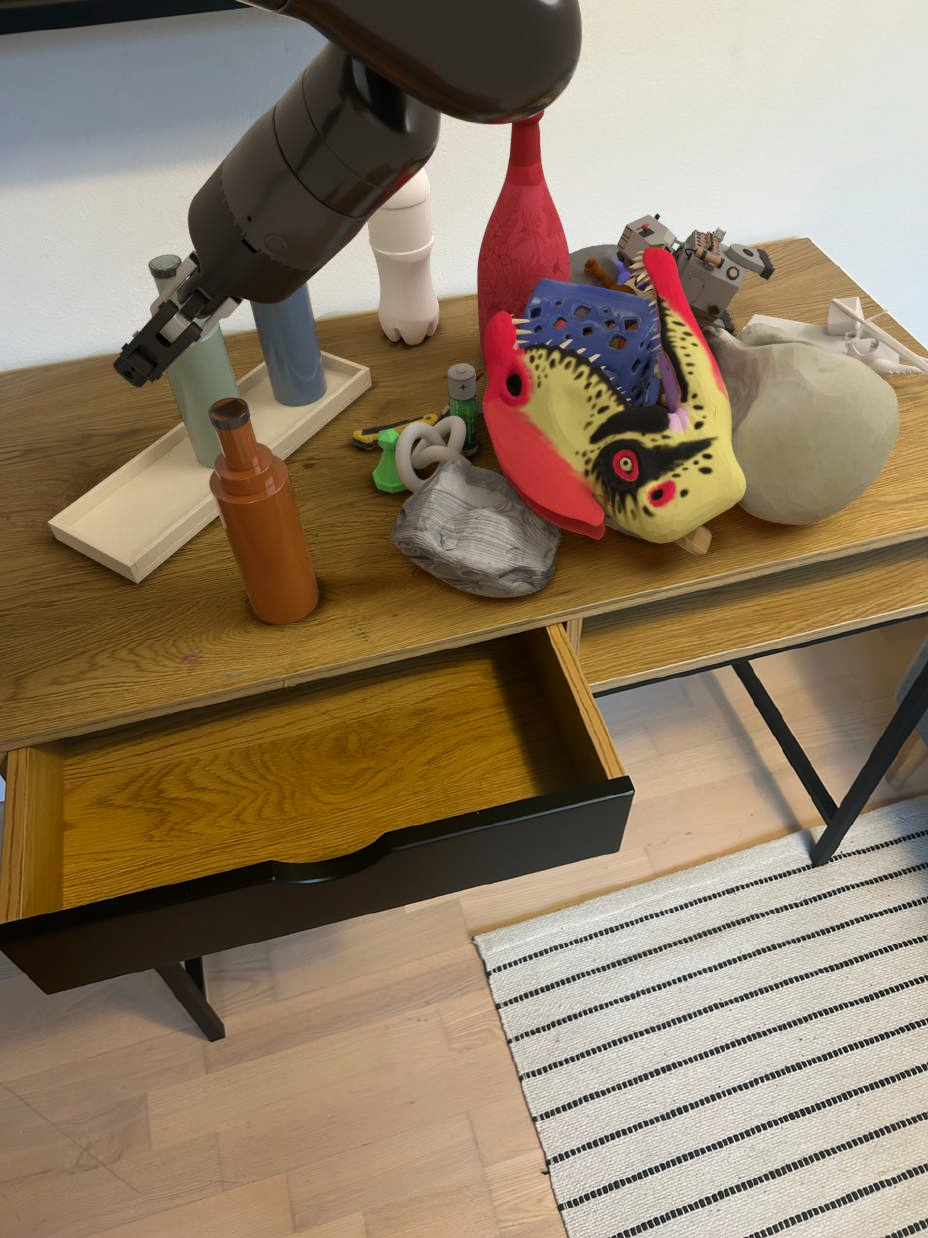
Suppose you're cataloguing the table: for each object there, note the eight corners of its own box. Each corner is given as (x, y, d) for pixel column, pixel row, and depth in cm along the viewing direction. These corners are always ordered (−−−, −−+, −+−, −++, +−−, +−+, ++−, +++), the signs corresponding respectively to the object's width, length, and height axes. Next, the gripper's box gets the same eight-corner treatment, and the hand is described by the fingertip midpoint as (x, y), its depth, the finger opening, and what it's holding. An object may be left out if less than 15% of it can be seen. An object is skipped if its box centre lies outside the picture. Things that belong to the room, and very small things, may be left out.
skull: (617, 412, 85) (781, 489, 90) (656, 487, 70) (850, 574, 75) (702, 266, 77) (875, 359, 83) (766, 315, 63) (972, 425, 68)
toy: (669, 214, 73) (446, 292, 75) (784, 487, 64) (527, 566, 66) (667, 271, 80) (462, 341, 82) (770, 525, 71) (537, 595, 73)
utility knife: (492, 388, 92) (504, 403, 91) (492, 398, 93) (504, 413, 92) (350, 431, 89) (360, 447, 87) (352, 441, 90) (362, 457, 88)
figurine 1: (757, 227, 99) (642, 181, 95) (781, 278, 92) (658, 231, 87) (713, 295, 105) (604, 255, 101) (732, 349, 98) (616, 308, 94)
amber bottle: (244, 623, 74) (175, 435, 59) (259, 573, 78) (197, 383, 63) (313, 625, 74) (260, 435, 58) (324, 574, 78) (278, 383, 62)
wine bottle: (532, 327, 102) (538, 34, 80) (583, 365, 97) (606, 62, 74) (463, 355, 99) (449, 58, 76) (512, 396, 94) (512, 89, 71)
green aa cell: (433, 428, 87) (461, 393, 84) (430, 425, 87) (458, 390, 84) (459, 404, 93) (486, 370, 90) (457, 401, 93) (483, 368, 90)
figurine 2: (719, 385, 95) (966, 438, 84) (727, 318, 89) (993, 366, 78) (757, 331, 102) (990, 374, 91) (767, 266, 96) (1017, 304, 85)
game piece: (424, 478, 85) (420, 429, 81) (391, 499, 83) (384, 450, 79) (397, 459, 87) (391, 410, 83) (364, 478, 86) (355, 429, 81)
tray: (137, 584, 78) (128, 566, 76) (56, 539, 82) (46, 521, 80) (372, 385, 96) (369, 367, 94) (296, 357, 100) (292, 339, 99)
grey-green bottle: (188, 469, 87) (119, 280, 71) (203, 432, 91) (140, 245, 75) (247, 469, 86) (189, 279, 71) (259, 432, 90) (207, 244, 75)
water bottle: (370, 344, 102) (338, 112, 82) (396, 313, 106) (370, 86, 87) (426, 354, 100) (405, 120, 80) (450, 322, 104) (435, 93, 85)
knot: (490, 476, 86) (501, 431, 82) (447, 520, 81) (456, 475, 77) (428, 442, 88) (436, 396, 83) (383, 483, 83) (388, 437, 79)
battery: (465, 460, 87) (461, 380, 80) (446, 449, 88) (441, 369, 81) (483, 448, 88) (481, 367, 81) (465, 437, 89) (461, 357, 82)
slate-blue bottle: (268, 406, 93) (219, 220, 78) (279, 374, 97) (235, 191, 81) (322, 406, 93) (285, 219, 77) (331, 374, 96) (297, 190, 81)
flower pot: (620, 484, 85) (662, 401, 90) (621, 385, 74) (668, 296, 79) (500, 452, 90) (546, 375, 95) (484, 354, 79) (536, 272, 84)
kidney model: (538, 298, 95) (563, 197, 103) (526, 347, 101) (550, 248, 110) (673, 332, 95) (687, 229, 104) (652, 379, 102) (666, 278, 110)
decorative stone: (588, 582, 73) (527, 626, 81) (551, 444, 77) (497, 498, 85) (437, 581, 66) (387, 629, 74) (406, 428, 70) (361, 489, 78)
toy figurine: (628, 374, 99) (656, 336, 101) (646, 361, 96) (675, 322, 98) (553, 300, 97) (584, 262, 99) (569, 284, 93) (601, 245, 95)
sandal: (574, 431, 78) (542, 477, 79) (700, 525, 70) (662, 574, 71) (607, 453, 83) (576, 495, 85) (728, 542, 75) (692, 588, 76)
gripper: (286, 93, 51) (165, 241, 62) (168, 214, 43) (53, 359, 54) (376, 196, 54) (246, 319, 65) (282, 326, 46) (152, 441, 57)
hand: (159, 337), depth 60 cm, fingers open, 8 cm apart
